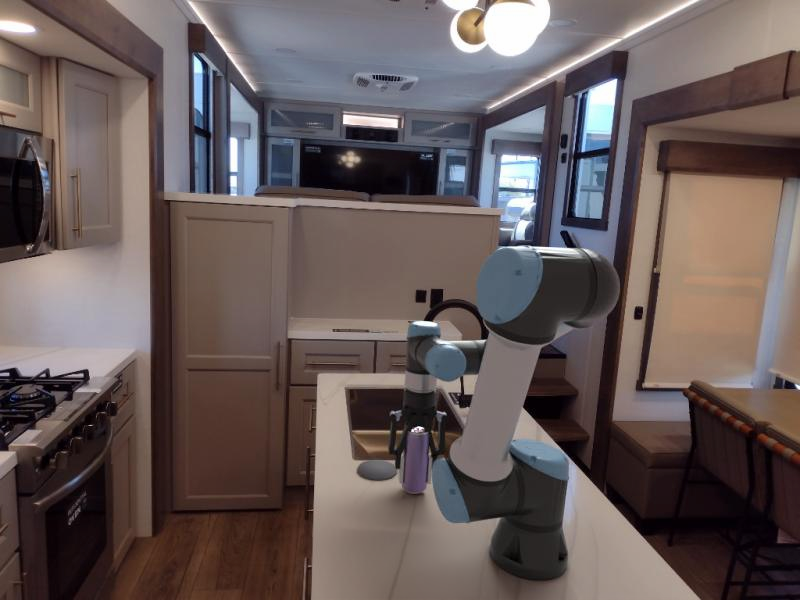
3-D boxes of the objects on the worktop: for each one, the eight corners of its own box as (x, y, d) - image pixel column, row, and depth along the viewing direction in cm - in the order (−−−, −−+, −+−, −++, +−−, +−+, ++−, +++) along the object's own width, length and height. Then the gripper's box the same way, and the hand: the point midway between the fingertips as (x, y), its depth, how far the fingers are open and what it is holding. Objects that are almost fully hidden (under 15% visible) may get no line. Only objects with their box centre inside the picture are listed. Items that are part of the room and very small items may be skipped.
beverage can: (426, 495, 135) (430, 434, 133) (401, 493, 136) (404, 433, 133) (426, 483, 141) (430, 425, 139) (401, 481, 141) (405, 423, 139)
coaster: (398, 480, 144) (398, 478, 143) (358, 480, 142) (358, 477, 142) (395, 462, 153) (395, 460, 153) (357, 461, 152) (357, 459, 152)
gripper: (457, 383, 139) (450, 474, 143) (378, 382, 137) (374, 473, 141) (463, 394, 132) (456, 489, 135) (380, 392, 130) (375, 488, 133)
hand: (414, 481), depth 138 cm, fingers closed on beverage can, 6 cm apart
